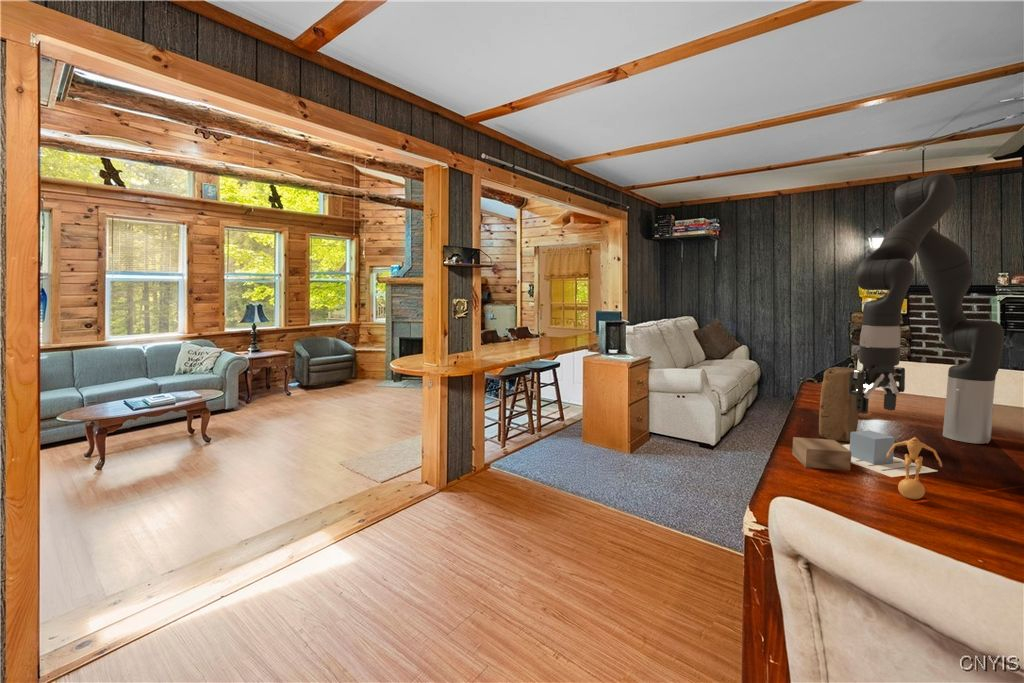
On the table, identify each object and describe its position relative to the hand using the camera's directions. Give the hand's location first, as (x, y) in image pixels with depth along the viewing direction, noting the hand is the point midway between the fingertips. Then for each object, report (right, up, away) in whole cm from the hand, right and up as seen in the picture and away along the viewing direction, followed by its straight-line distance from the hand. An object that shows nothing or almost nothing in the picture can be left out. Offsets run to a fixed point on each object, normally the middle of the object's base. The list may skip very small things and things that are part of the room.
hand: (875, 411), depth 110 cm
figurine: (-8, -14, -19) cm, 25 cm away
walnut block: (-14, -13, -1) cm, 19 cm away
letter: (0, -12, +1) cm, 12 cm away
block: (+5, -11, +19) cm, 22 cm away
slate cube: (0, -12, +1) cm, 12 cm away
